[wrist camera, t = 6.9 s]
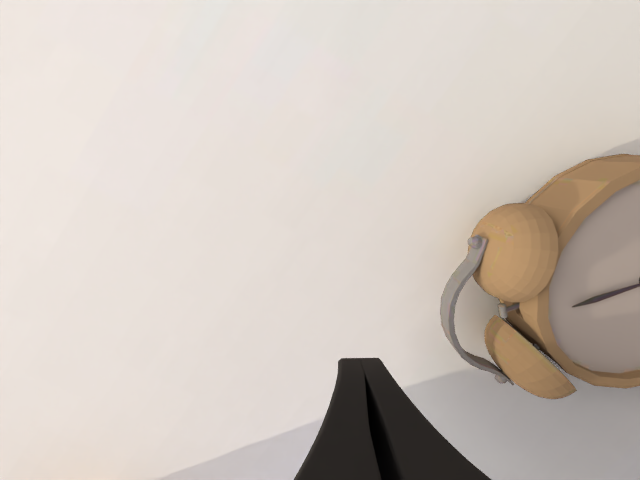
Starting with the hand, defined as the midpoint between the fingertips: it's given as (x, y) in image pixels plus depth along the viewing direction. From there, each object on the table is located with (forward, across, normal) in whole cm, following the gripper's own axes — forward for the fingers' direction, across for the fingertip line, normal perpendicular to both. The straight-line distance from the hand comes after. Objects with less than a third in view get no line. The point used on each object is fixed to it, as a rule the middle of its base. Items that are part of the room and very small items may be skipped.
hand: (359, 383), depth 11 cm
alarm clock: (+8, -12, -1) cm, 15 cm away
